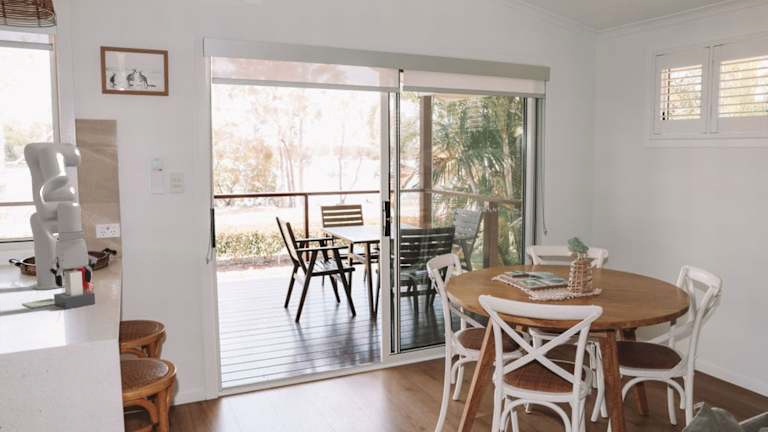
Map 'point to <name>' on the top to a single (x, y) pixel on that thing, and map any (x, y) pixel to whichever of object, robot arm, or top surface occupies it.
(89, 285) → the soda can
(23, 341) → the top surface
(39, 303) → the mat
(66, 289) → the plug
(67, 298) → the grey square socket block
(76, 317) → the top surface
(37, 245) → the robot arm
